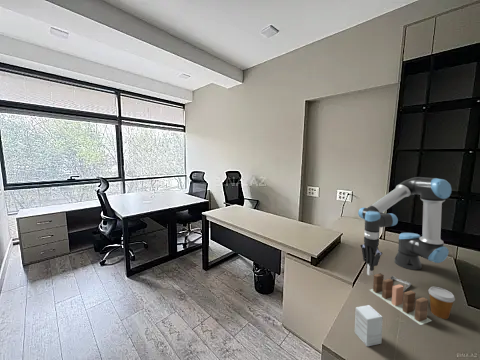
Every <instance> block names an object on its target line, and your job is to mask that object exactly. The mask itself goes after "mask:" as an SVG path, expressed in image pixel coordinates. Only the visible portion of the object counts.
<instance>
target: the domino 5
mask: <svg viewBox="0 0 480 360" xmlns="http://www.w3.org/2000/svg"><path fill="white" fill-rule="evenodd" d="M428 307H429V299H428V298H425V297H424V296H423V297H420V298H417V299H416V298H415V304H414V309H415V318H414V319H416V320H417V321H419V322H420V321H423V320H425V319H427V318H428Z"/></svg>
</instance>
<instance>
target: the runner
mask: <svg viewBox="0 0 480 360" xmlns="http://www.w3.org/2000/svg"><path fill="white" fill-rule="evenodd" d="M369 291H370V292H371V293H372V294H374V295H376V297H378V298H380V299H381V300H383V301H384V302H386V303H388V305H390V306H392V307H393V308H395V309H396V310H398V311H399V312H401V313H402V314H404V315H405V316H407V317H409V319H411V320H412V321H413V322H415V323H417V324H418V325H420V326H422V325H425V324H428V323H430V322H432V321H433V320H431V319H430V318H429V317H427V319H425V320H423V321H420V322H419V321H417V320H416V319H414V318H415V308H414V311H413V312H410V313H405V312H404V311H403V304H400V305H397V306H395V305H393V304H392V297H391V298H388V299H384V298H383V297H382V292H378V293H375V292H374V291H373V288H371V289H369Z"/></svg>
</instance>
